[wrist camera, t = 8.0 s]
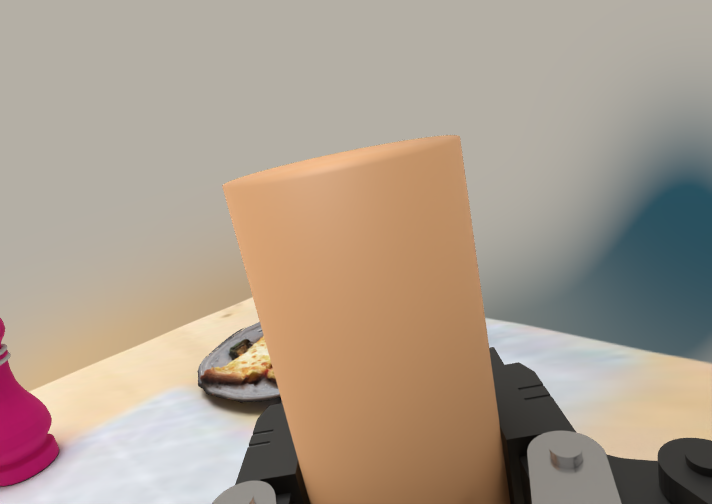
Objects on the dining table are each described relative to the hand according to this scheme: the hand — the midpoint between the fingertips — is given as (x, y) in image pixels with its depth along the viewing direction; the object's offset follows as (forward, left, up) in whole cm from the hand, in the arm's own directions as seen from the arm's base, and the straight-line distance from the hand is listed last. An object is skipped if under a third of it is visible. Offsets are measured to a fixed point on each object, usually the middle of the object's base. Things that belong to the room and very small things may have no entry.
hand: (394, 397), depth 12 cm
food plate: (-27, -41, -22) cm, 54 cm away
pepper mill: (+2, -53, -22) cm, 57 cm away
